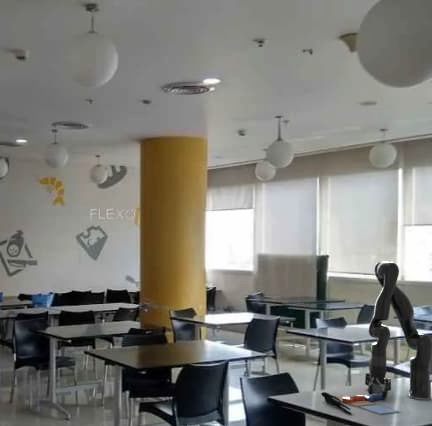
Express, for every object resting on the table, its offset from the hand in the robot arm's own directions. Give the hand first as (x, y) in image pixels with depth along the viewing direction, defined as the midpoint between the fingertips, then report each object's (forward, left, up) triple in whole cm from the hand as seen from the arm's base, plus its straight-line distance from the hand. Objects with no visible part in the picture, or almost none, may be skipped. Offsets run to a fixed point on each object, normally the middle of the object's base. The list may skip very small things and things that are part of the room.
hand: (377, 396), depth 312 cm
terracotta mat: (+16, 0, -2) cm, 16 cm away
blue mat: (+16, +15, -2) cm, 22 cm away
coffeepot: (-14, -13, -2) cm, 19 cm away
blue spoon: (+2, 0, -2) cm, 2 cm away
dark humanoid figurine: (+30, +7, -2) cm, 31 cm away
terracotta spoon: (+16, 0, -1) cm, 16 cm away
